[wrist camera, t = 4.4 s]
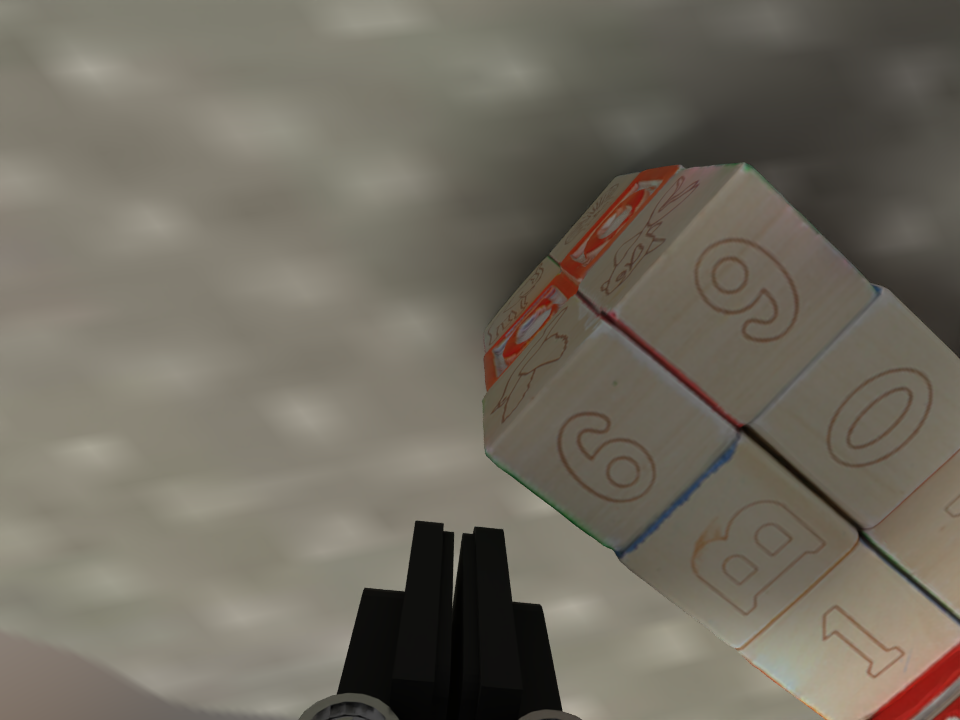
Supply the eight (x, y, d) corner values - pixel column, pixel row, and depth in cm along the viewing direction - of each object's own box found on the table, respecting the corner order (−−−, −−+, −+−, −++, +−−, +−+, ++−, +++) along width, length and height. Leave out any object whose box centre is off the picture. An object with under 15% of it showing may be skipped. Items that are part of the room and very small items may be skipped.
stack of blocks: (475, 332, 19) (474, 552, 7) (614, 170, 18) (889, 115, 6) (921, 701, 23) (1414, 1256, 11) (1061, 586, 22) (1788, 1067, 10)
